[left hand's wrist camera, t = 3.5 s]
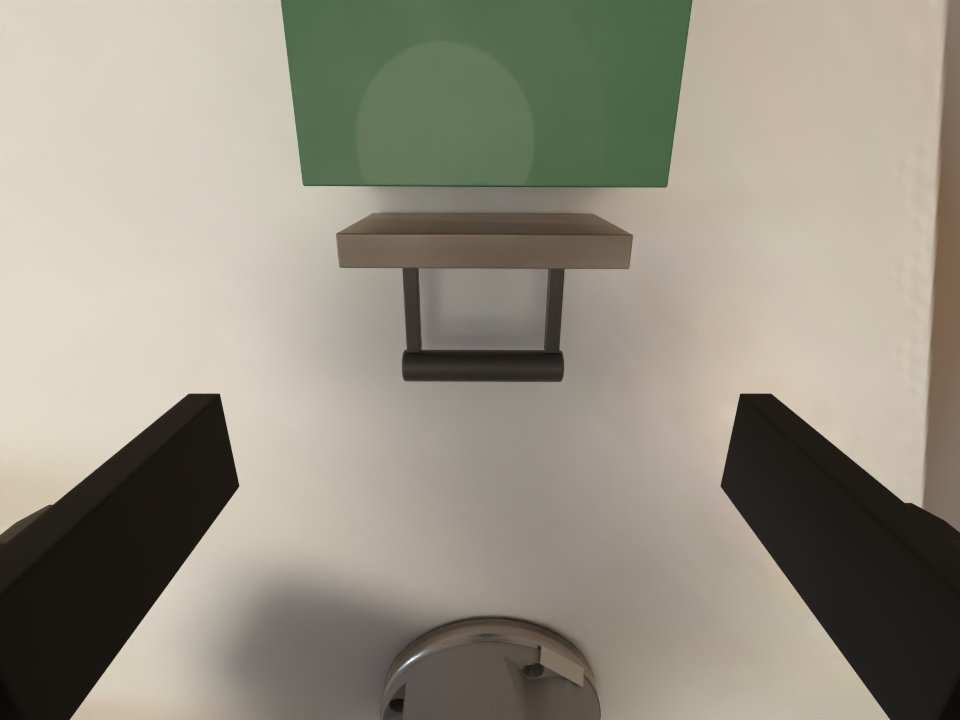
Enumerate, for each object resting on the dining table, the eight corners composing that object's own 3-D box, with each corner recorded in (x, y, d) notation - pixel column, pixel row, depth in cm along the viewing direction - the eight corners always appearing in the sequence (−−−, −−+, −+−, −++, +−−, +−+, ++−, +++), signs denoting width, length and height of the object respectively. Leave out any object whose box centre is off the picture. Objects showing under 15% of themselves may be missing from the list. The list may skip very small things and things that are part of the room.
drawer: (582, 355, 26) (612, 415, 20) (382, 354, 26) (353, 414, 20) (644, -363, 17) (736, -653, 11) (330, -366, 17) (246, -656, 11)
